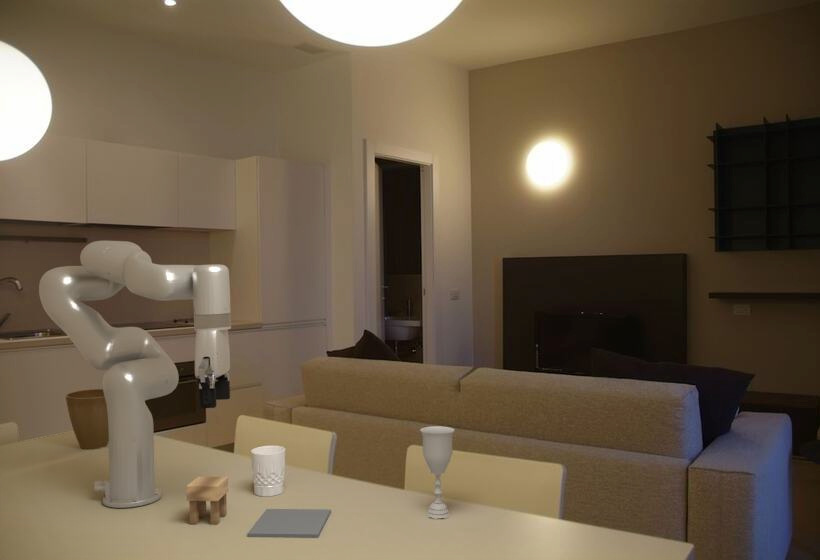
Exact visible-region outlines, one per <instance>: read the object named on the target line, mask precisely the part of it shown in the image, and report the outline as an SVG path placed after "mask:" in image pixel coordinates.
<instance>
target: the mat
mask: <svg viewBox="0 0 820 560" xmlns="http://www.w3.org/2000/svg"><path fill="white" fill-rule="evenodd" d="M331 513H332V509H328V508H327V509H321V508H320V509H319V508H318V509H311V508H309V509H308V508H305V509H304V508H292V509H291V508H266V509H265V510H264V512H263V513H262V514H261V515H260V517H259V518H258V519H257V521H256V522H255V523H254V524H253V525H252V527H251V528H250V529H249V530H248V532H247V533H246V535H247V537H248V538H249V537H251V538H252V537H254V538H256V537H257V538H258V537H259V538H319V537H320V535H321V533H322V531H323V529H324V527H325V525H326V523H327V522H328V520H329V517H330V515H331Z"/></svg>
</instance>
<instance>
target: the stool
mask: <svg viewBox="0 0 820 560" xmlns="http://www.w3.org/2000/svg"><path fill="white" fill-rule="evenodd" d="M228 492H229V476H197V477H196V478H195V479H194V480H192V481H191V482H190V483H189V484H187V485H186V501H188V503H189V505H188V507H189V509H188V510H189V525H197V524H199V522H200V519H199V518H200V517H201V518H205V516H206V515H207V502H209V503H210V506H209V507H210V510H209V511H210V512H209V513H210V525H212V526H215V525H219V523H220V519H221V518H225V517H226V516H227V493H228Z"/></svg>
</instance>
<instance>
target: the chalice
mask: <svg viewBox="0 0 820 560" xmlns="http://www.w3.org/2000/svg"><path fill="white" fill-rule="evenodd" d="M420 432H421V435H422V455H423V457H424V460H425V463H426V465H427V466H428V469H429V470H430V473H432V474H434V476H435V481H434V482H433V484H434V485H435V489H434V491H433V493H434V494H435V500H434V502H431V504H430V505H429V508H428V510H427V512H426V515H427V516H429V517H432V518H445V517H448V516H450V517H451V513H450V512H449V509H448V505H447V504H446V503H445V502H443V501H442V499H441V495H442V494H443V490H442V489H441V486H442V485H443V484H442V480H441V476H442V475H443V474H444V473H446V470H447V468H448V466H449V464H450V462H451V458H452V455H453V435H454V433H455V428H452V427H448V426H441V425H437V426H436V425H435V426H426V427H422V428H420ZM427 516H426V517H427Z"/></svg>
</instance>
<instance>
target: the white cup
mask: <svg viewBox="0 0 820 560" xmlns="http://www.w3.org/2000/svg"><path fill="white" fill-rule="evenodd" d="M250 456H251V470H252V471H251V472H252V482H253V489H254V491H253V492H254V495H256V496H258V497H275V496H278V495H281V494H282V493H283V492H284V490H285V489H284V486H285V485H284V483H285V473H286V472H285V471H286V448H285V447H284V446H281V445H263V446H259V447H255V448H252V449H251V450H250Z"/></svg>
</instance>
